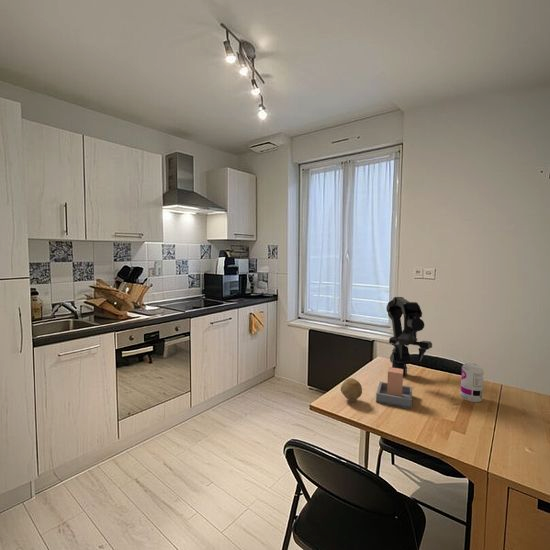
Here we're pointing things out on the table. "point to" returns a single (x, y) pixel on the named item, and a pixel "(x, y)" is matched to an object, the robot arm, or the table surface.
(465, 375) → the supplement can
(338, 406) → the table surface
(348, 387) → the natural sponge
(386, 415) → the table surface
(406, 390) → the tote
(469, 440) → the table surface
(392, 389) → the carton
